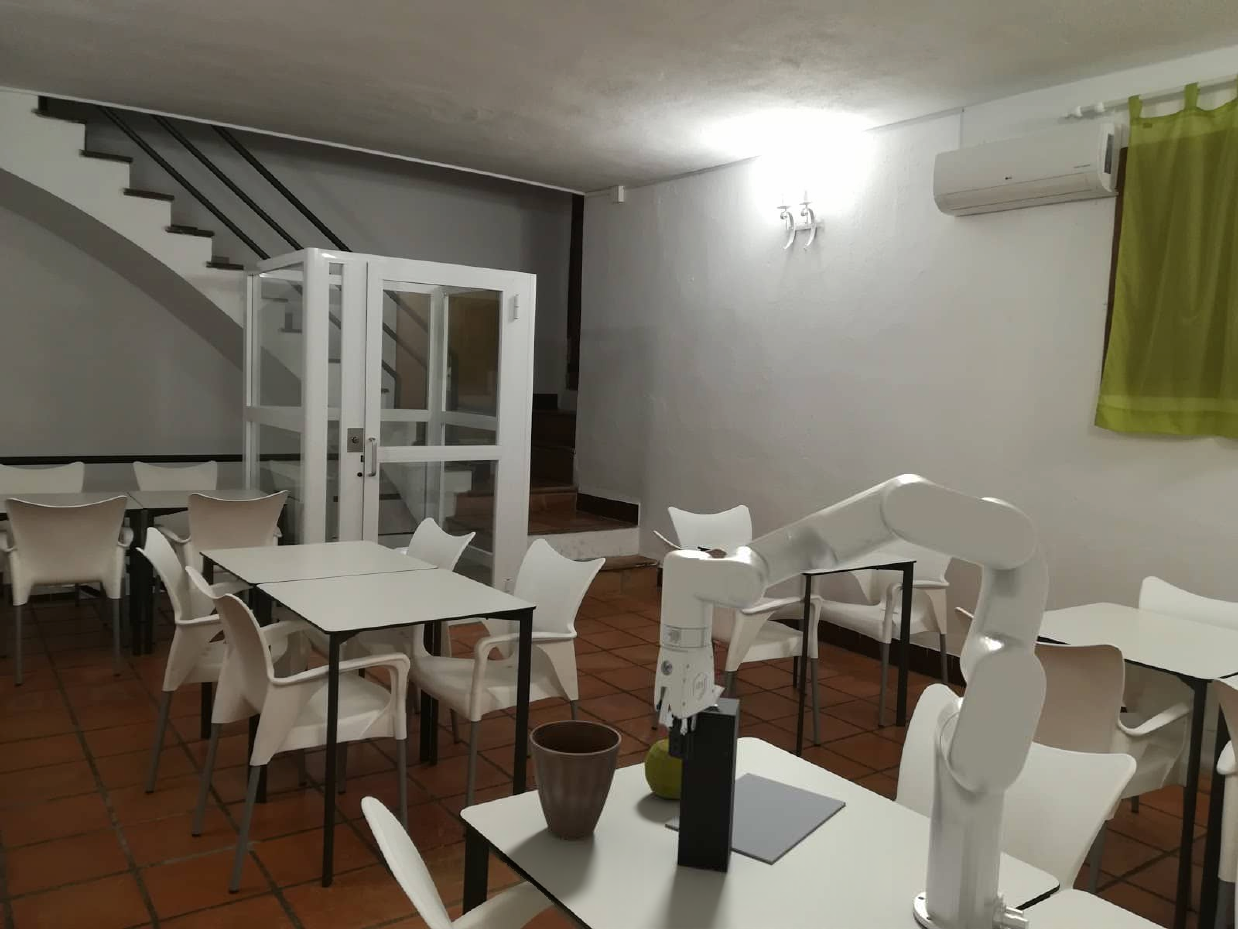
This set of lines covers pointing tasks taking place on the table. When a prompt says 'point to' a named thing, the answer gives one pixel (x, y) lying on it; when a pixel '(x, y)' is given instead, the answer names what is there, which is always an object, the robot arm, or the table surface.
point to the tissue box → (709, 788)
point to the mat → (773, 816)
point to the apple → (663, 771)
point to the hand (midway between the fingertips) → (680, 756)
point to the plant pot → (573, 774)
